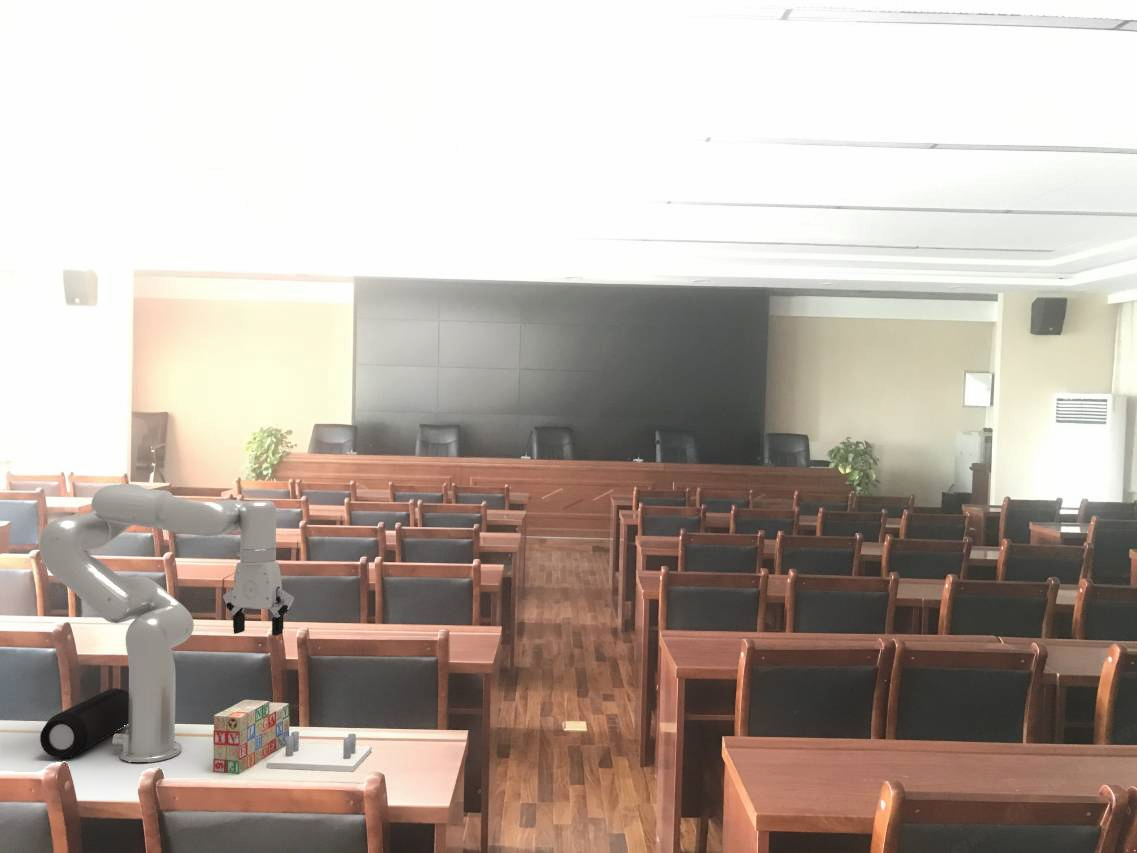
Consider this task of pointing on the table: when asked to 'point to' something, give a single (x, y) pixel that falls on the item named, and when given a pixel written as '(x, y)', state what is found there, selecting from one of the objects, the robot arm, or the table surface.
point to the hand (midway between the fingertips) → (258, 633)
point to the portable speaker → (85, 723)
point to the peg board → (320, 755)
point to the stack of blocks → (248, 734)
